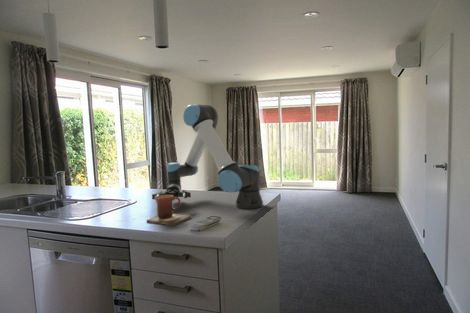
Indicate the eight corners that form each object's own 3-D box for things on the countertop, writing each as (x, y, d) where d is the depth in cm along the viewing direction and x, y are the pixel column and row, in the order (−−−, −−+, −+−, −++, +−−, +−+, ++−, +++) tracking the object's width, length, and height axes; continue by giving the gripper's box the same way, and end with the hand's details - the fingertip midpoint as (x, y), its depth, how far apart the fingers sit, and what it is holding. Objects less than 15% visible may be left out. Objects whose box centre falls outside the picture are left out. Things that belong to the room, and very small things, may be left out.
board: (191, 218, 163) (191, 215, 163) (174, 225, 151) (174, 222, 151) (165, 215, 170) (164, 212, 170) (146, 222, 158) (146, 219, 158)
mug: (154, 220, 156) (152, 198, 155) (158, 215, 165) (157, 195, 164) (179, 219, 156) (178, 197, 155) (182, 214, 165) (181, 194, 164)
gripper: (195, 196, 192) (195, 204, 171) (151, 199, 189) (145, 207, 168) (194, 183, 192) (194, 190, 171) (150, 186, 189) (144, 192, 168)
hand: (170, 198), depth 169 cm, fingers open, 13 cm apart
